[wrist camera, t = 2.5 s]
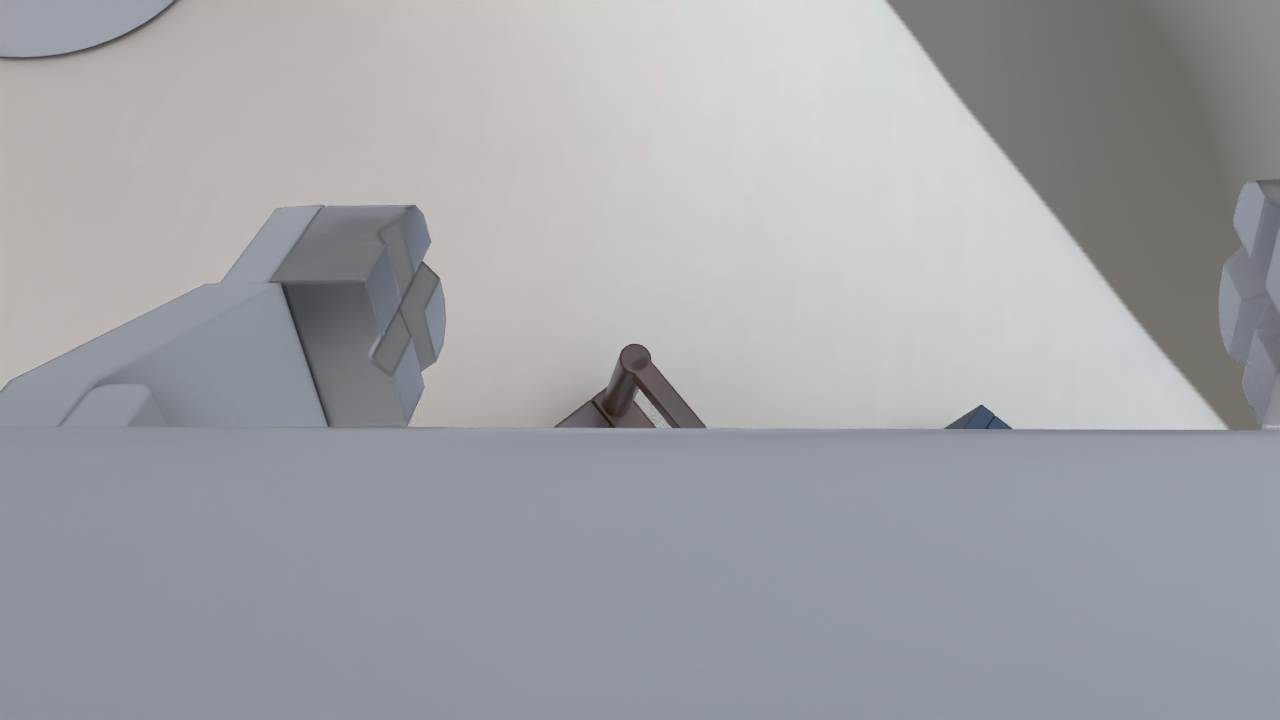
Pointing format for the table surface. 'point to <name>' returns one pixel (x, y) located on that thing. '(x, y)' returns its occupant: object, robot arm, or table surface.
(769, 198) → the table surface
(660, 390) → the rack
